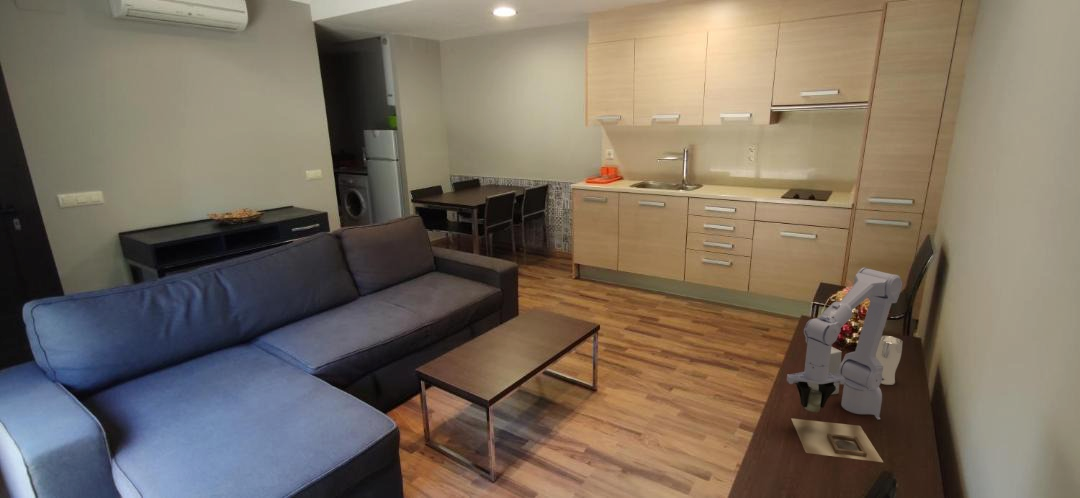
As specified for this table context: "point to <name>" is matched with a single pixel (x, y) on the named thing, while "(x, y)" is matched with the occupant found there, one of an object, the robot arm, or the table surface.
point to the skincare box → (832, 368)
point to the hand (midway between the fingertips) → (812, 405)
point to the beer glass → (889, 357)
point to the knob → (814, 401)
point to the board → (835, 440)
